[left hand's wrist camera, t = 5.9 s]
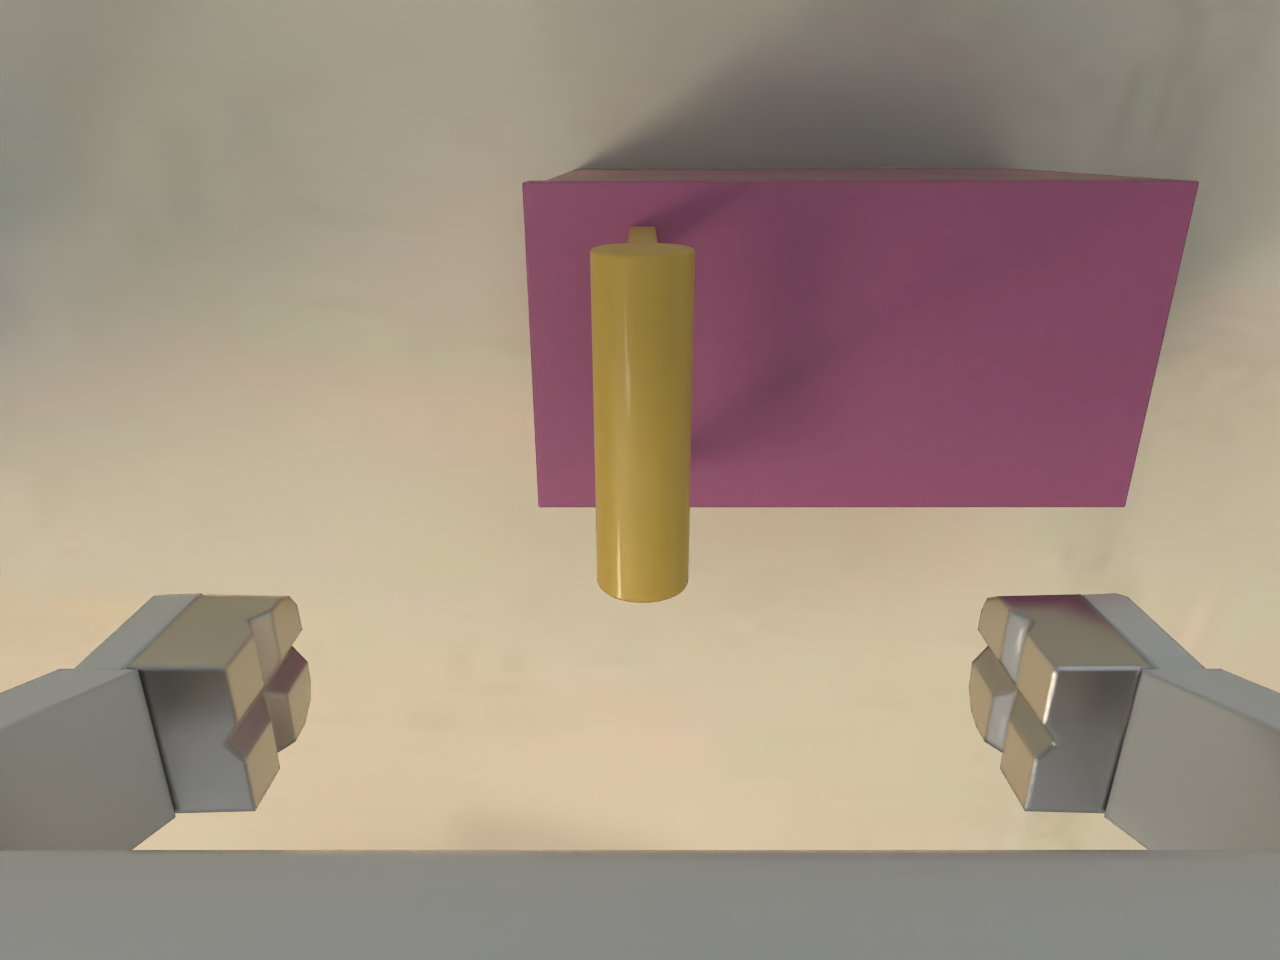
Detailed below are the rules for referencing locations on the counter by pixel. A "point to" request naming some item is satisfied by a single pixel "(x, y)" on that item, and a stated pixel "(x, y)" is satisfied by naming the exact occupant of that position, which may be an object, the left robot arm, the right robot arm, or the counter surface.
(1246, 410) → the counter surface
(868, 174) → the chest
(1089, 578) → the counter surface
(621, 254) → the lid
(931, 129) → the counter surface
